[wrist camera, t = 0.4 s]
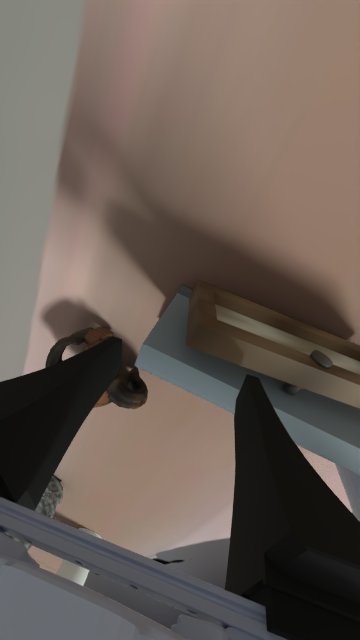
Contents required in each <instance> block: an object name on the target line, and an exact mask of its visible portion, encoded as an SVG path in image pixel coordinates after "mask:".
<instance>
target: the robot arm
mask: <svg viewBox="0 0 360 640" xmlns="http://www.w3.org/2000/svg"><path fill="white" fill-rule="evenodd" d="M121 349H122V339H119V338H115V337H110V338H108V339H106V340H104V341H102V342H101V343H99V344H97V345H95V346H93V347H91V348H89V349H87V350H85V351H83V352H81V353H79V354H77V355H75V356H73V357H71V358H68V359H66V360H64V361H62V362H60V363H57V364H55V365H52V366H50V367H47V368H44V369H42V370H39V371H36V372H33V373H30V374H26V375H23V376H20V377H17V378H13V379H10V380H6V381H3V382H0V640H360V475H358V474H356V473H354V472H352V471H350V470H348V469H346V468H344V467H342V466H340V465H338V464H336V463H335V464H336V467H337V470H338V473H339V475H340V478H341V481H342V483H343V486H344V489H345V491H346V494H347V497H348V499H349V502H350V505H351V508H352V510H353V513H354V515H353V514H352V513H351V512H350V511H349V510H348V509H347V507H346V506H345V505H344V504H343V503H342V502H341V501H340V500H339V498H338V497H337V496H336V495H335V494H334V493H333V492H332V490H331V489H330V488H329V487H328V486H327V485H326V483H325V482H324V481H323V480H322V478H321V477H320V476H319V475H318V473H317V472H316V471H315V470H314V468H313V467H312V466H311V465H310V463H309V462H308V461H307V459H306V458H305V457H304V455H303V454H302V453H301V451H300V450H299V448H298V447H297V445H296V444H295V443H294V441H293V440H292V438H291V437H290V435H289V433H288V432H287V430H286V428H285V427H284V425H283V424H282V422H281V420H280V418H279V417H278V415H277V413H276V411H275V409H274V407H273V406H272V404H271V402H270V400H269V398H268V396H267V394H266V392H265V390H264V388H263V386H262V383H261V381H260V379H259V378H258V377H255V376H252V375H248V374H247V375H246V377H245V380H244V382H243V384H242V387H241V389H240V391H239V394H238V396H237V398H236V404H235V415H234V428H235V460H236V466H235V487H234V501H233V515H232V526H231V537H230V548H229V558H228V567H227V576H226V585H225V590H224V589H221V588H219V587H217V586H214V585H212V584H210V583H207V582H205V581H202V580H200V579H197V578H195V577H193V576H190V575H188V574H185V573H183V572H181V571H178V570H176V569H173V568H171V567H168V566H166V565H164V564H161V563H159V562H156V561H154V560H152V559H149V558H147V557H144V556H142V555H139V554H137V553H135V552H132V551H130V550H127V549H125V548H122V547H120V546H118V545H115V544H113V543H110V542H108V541H106V540H103V539H101V538H98V537H96V536H93V535H91V534H89V533H86V532H84V531H81V530H79V529H76V528H74V527H72V526H69V525H67V524H64V523H62V522H60V521H57V520H55V519H52V518H50V517H47V516H45V515H43V514H40V513H38V512H35V511H34V510H35V509H36V508H37V506H38V504H39V502H40V500H41V498H42V496H43V494H44V492H45V490H46V488H47V486H48V484H49V482H50V480H51V478H52V476H53V474H54V473H55V471H56V469H57V467H58V465H59V463H60V462H61V460H62V458H63V456H64V454H65V452H66V451H67V449H68V447H69V445H70V444H71V442H72V440H73V438H74V437H75V435H76V433H77V432H78V430H79V428H80V427H81V425H82V423H83V422H84V420H85V419H86V417H87V416H88V414H89V413H90V411H91V410H92V409H93V407H94V406H95V405H96V403H97V402H98V401H99V399H100V398H101V397H102V395H103V394H104V392H105V391H106V390H107V388H108V387H109V386H110V384H111V383H112V381H113V380H114V378H115V376H116V375H117V373H118V371H119V369H120V367H121ZM4 533H5V534H7V535H10V536H12V537H14V538H17V539H19V540H21V541H23V542H26V543H28V544H30V545H33V546H35V547H37V548H39V549H42V550H44V551H46V552H49V553H51V554H53V555H55V556H58V557H60V558H62V559H65V560H67V561H69V562H71V563H74V564H76V565H78V566H81V567H83V568H85V569H87V570H90V571H92V572H94V573H97V574H99V575H101V576H103V577H106V578H108V579H110V580H113V581H115V582H117V583H120V584H122V585H124V586H126V587H129V588H131V589H133V590H135V591H138V592H140V593H142V594H145V595H147V596H149V597H151V598H154V599H156V600H158V601H161V602H163V603H165V604H167V605H170V606H172V607H174V608H177V609H179V610H181V611H184V612H186V613H188V614H190V615H193V616H195V617H197V618H200V619H202V620H199V619H196V618H192V617H189V616H185V615H180V616H179V617H178V622H177V624H173V625H172V627H171V630H170V629H168V628H166V627H164V626H162V625H160V624H159V623H157V622H155V621H153V620H151V619H149V618H147V617H145V616H143V615H141V614H140V613H138V612H136V611H134V610H131V609H130V608H128V607H126V606H124V605H122V604H120V603H118V602H116V601H114V600H112V599H109V598H108V597H105V596H103V595H101V594H99V593H97V592H95V591H93V590H91V589H88V588H86V587H84V586H82V585H80V584H77V583H75V582H73V581H71V580H68V579H66V578H64V577H61V576H59V575H56V574H54V573H52V572H49V571H47V570H44V569H42V568H39V564H38V563H37V562H36V561H35V560H33V559H32V558H31V557H30V555H29V554H28V552H27V548H26V547H25V546H23V545H22V544H20V543H18V542H17V541H15V540H13V539H11V538H10V537H8V536H6V535H5V534H4ZM203 620H204V621H203Z"/></svg>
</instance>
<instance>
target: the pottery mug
mask: <svg viewBox="0 0 360 640" xmlns="http://www.w3.org/2000/svg"><path fill="white" fill-rule="evenodd" d="M112 335H113V332H112V331H111V330H109V329H107V328H97V329H93V328H87V329H83V330H80V331H78V332H75V333H74V334H72V335H71V336H69V337H65V338H62V339H60V340H59V341H58V342H57V343H56V344H55V345H54V346H53V347H52V348H51V350H50V352H49V354H48V357H47V361H46V367H45V368H47V367H50V366H52V365H55V364H57V363H60V362H62V354H63V352H64V350H65V348H66V346H68V345H69V344H74V345H80V344H82V343H83V342H85V343H86V344H88V345H87V346H86V347H85V348H84V350H83V351H85V350H87V349H89V348H91V347H93V346H95V345H97V344H99V343H101V341H100V340H102V339H103V338H106V337H109V336H112ZM147 394H148V390H147V387H146V384H145V383H144V381H143V380H142V379H141V378H140V376H139V371H138V368H137V367H135V368H133V369H132V370H131V371H130V372H128V373H126V374H123V375H119V376H117V377H115V378H114V380H113V381H112V383H111V384H110V386H109V387H108V388H107V390H106V391H105V392H104V394H103V395H102V397H101V398H100V399H99V401H98V402H97V403H96V405H95V406H94V407H93V408H95V407H101V406H104V405H107V404H109V403H111V402H113V403H115V404H116V405H118V406H119V407H124V408H128V409H129V408H132V409H136V408H138V407H140V406H142V405H143V404H145V402H146V400H147Z"/></svg>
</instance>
